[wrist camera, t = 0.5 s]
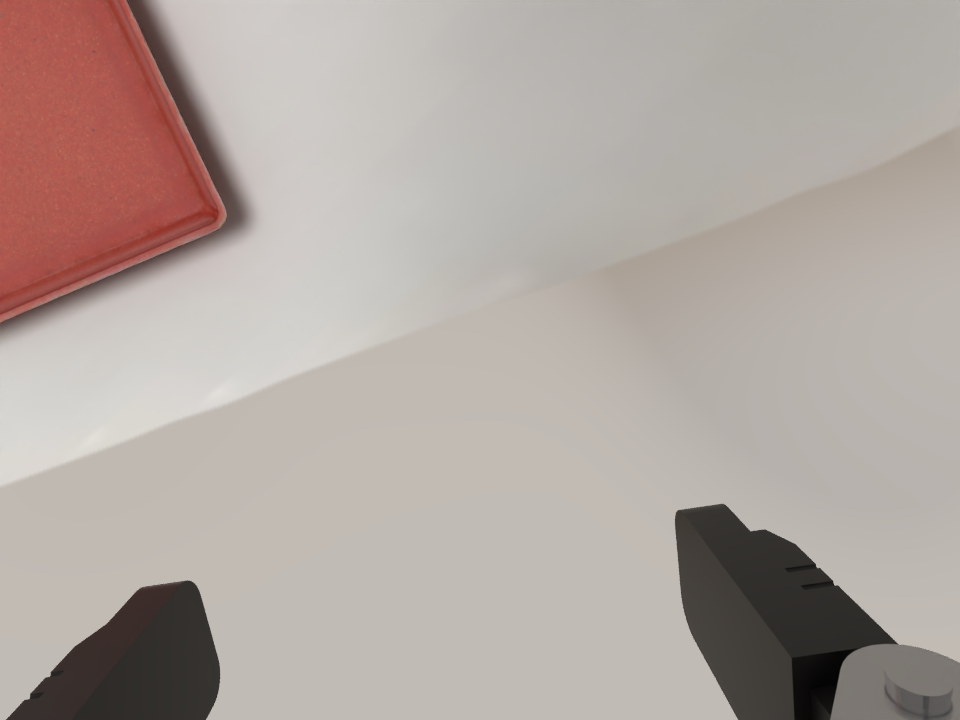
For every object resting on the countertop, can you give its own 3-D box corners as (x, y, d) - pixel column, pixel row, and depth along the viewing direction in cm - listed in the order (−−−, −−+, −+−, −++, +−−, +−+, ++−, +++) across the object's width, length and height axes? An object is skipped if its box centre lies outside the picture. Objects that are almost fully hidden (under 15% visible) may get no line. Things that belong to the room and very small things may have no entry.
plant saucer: (95, -111, 31) (51, -153, 28) (253, 225, 34) (231, 223, 31) (-210, 34, 32) (-287, 10, 29) (-29, 347, 35) (-80, 357, 32)
